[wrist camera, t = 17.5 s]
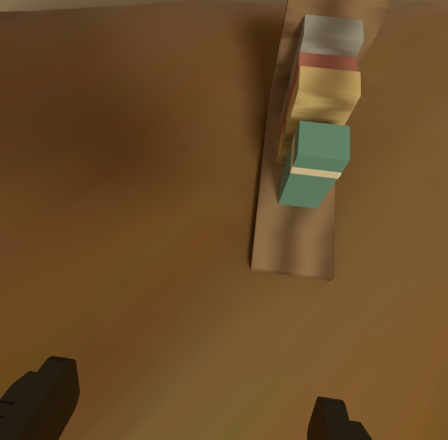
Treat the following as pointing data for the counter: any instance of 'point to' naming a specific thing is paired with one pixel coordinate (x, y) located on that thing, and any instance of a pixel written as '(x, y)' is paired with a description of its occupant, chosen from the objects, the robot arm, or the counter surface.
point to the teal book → (314, 163)
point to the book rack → (311, 112)
